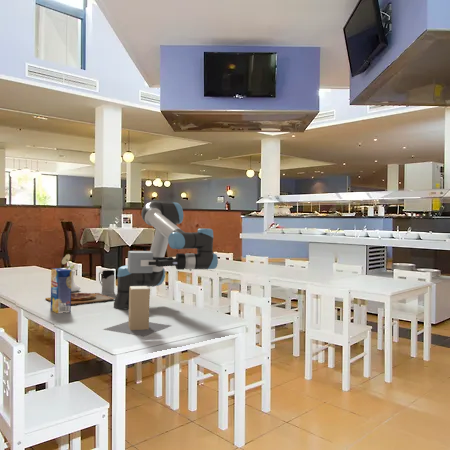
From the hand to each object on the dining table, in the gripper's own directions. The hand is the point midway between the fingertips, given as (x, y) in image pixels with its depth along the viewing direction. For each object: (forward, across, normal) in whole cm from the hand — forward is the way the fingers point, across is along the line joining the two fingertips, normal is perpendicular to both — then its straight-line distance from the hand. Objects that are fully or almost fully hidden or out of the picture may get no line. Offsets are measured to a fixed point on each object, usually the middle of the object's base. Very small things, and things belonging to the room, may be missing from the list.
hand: (138, 261), depth 198 cm
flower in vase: (+32, +106, -31) cm, 115 cm away
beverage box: (+35, +45, -31) cm, 65 cm away
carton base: (-1, 0, -30) cm, 30 cm away
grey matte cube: (-1, 0, -5) cm, 5 cm away
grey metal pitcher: (+10, +96, -31) cm, 101 cm away
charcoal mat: (-1, 0, -31) cm, 31 cm away
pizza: (+25, +74, -31) cm, 85 cm away
